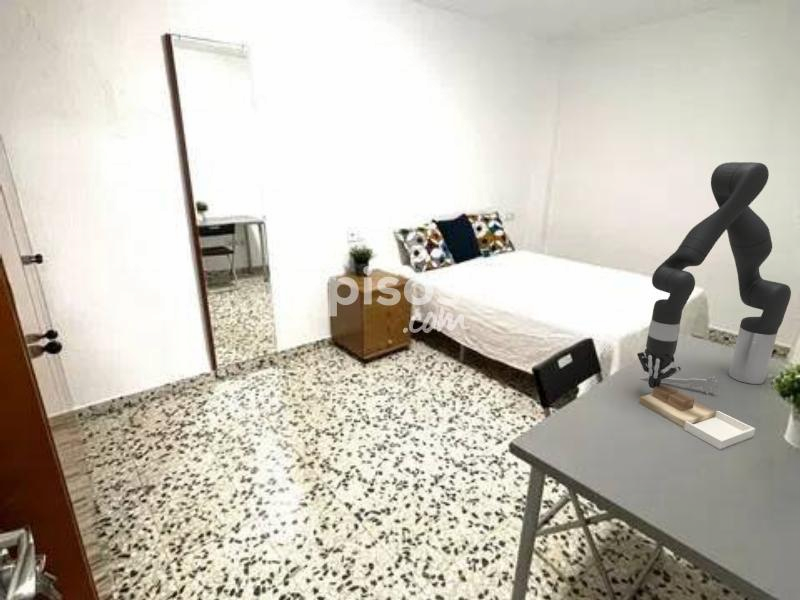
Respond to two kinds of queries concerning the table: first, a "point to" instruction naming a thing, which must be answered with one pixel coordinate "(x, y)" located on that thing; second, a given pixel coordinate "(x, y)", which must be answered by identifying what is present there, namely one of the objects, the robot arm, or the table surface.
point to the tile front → (680, 401)
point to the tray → (720, 430)
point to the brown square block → (663, 392)
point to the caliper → (691, 382)
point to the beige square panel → (677, 411)
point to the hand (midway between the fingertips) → (653, 387)
